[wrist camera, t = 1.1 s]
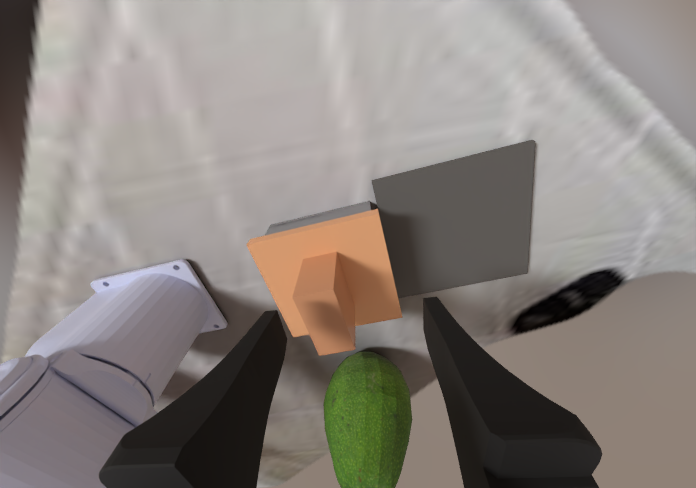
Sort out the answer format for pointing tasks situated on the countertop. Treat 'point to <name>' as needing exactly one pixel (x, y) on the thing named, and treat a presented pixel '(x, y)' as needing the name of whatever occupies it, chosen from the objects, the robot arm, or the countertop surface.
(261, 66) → the countertop surface
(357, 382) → the avocado
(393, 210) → the mat
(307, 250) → the lid
